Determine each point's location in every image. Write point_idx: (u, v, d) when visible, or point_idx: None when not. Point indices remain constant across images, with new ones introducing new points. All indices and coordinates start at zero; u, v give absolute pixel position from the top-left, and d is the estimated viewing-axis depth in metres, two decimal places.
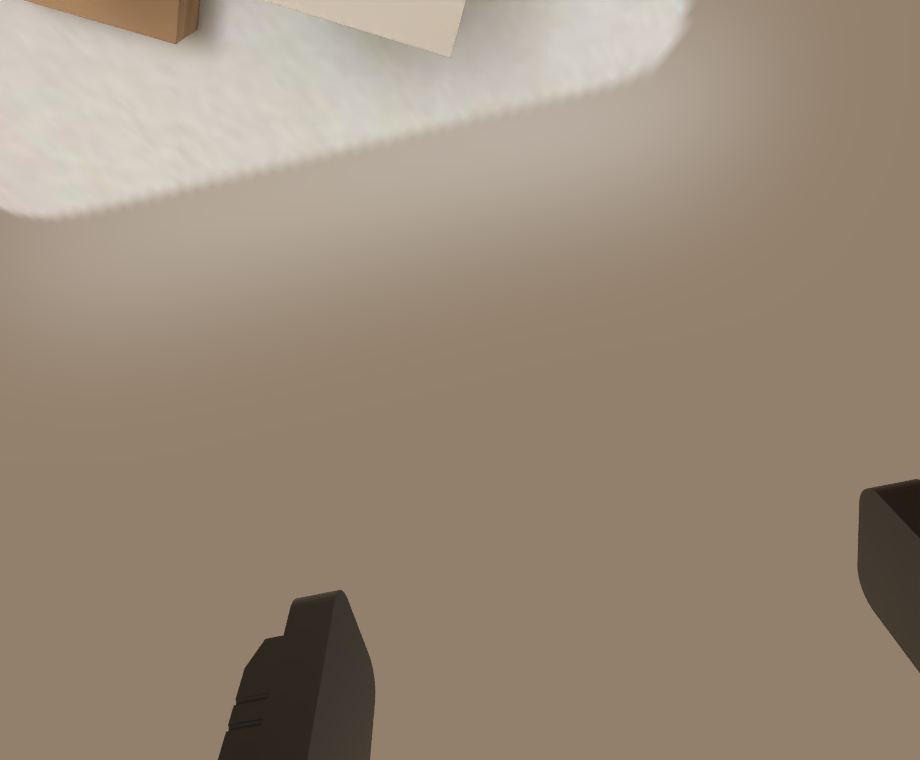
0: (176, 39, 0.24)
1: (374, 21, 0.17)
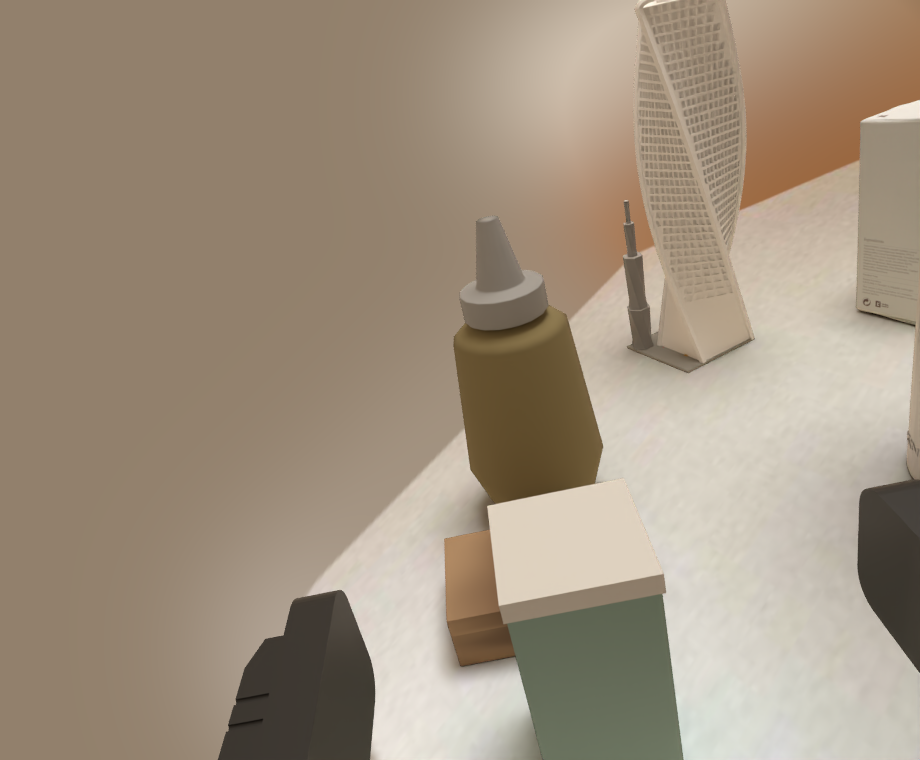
0: (449, 622, 0.34)
1: (501, 563, 0.24)
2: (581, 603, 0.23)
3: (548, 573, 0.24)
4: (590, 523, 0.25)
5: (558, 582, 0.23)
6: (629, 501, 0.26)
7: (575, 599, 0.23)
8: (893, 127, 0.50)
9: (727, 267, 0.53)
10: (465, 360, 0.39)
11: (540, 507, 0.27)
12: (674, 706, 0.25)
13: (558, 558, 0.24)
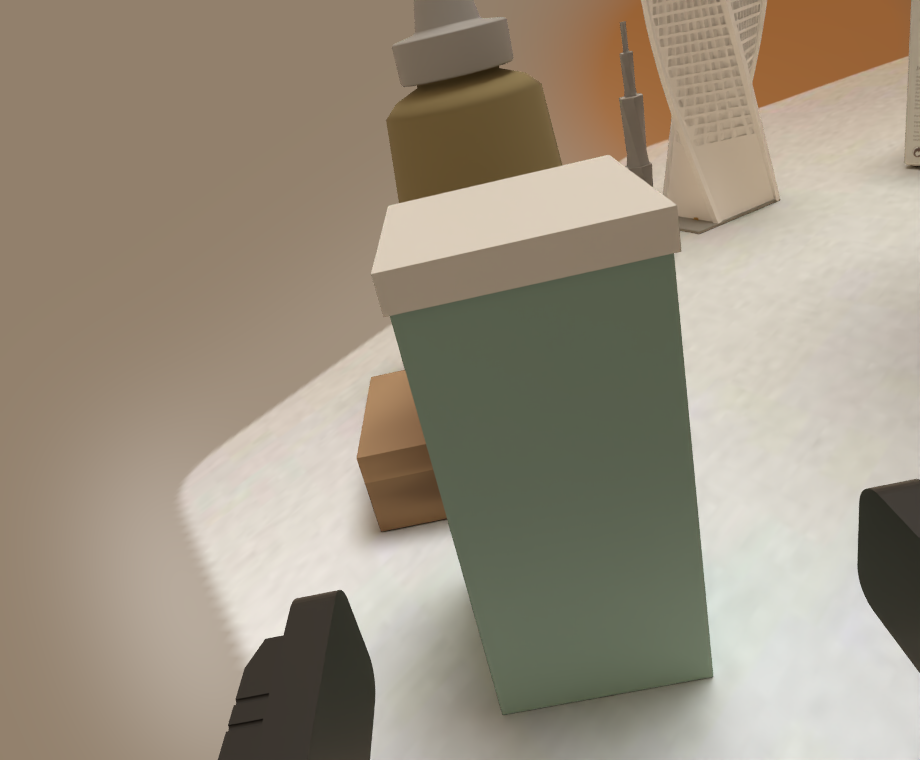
0: (360, 460, 0.23)
1: (392, 241, 0.14)
2: (525, 273, 0.12)
3: (468, 236, 0.13)
4: (549, 191, 0.15)
5: (484, 240, 0.13)
6: (617, 167, 0.15)
7: (513, 263, 0.12)
8: None
9: (748, 96, 0.43)
10: (399, 130, 0.28)
11: (471, 193, 0.16)
12: (693, 505, 0.15)
13: (489, 222, 0.14)
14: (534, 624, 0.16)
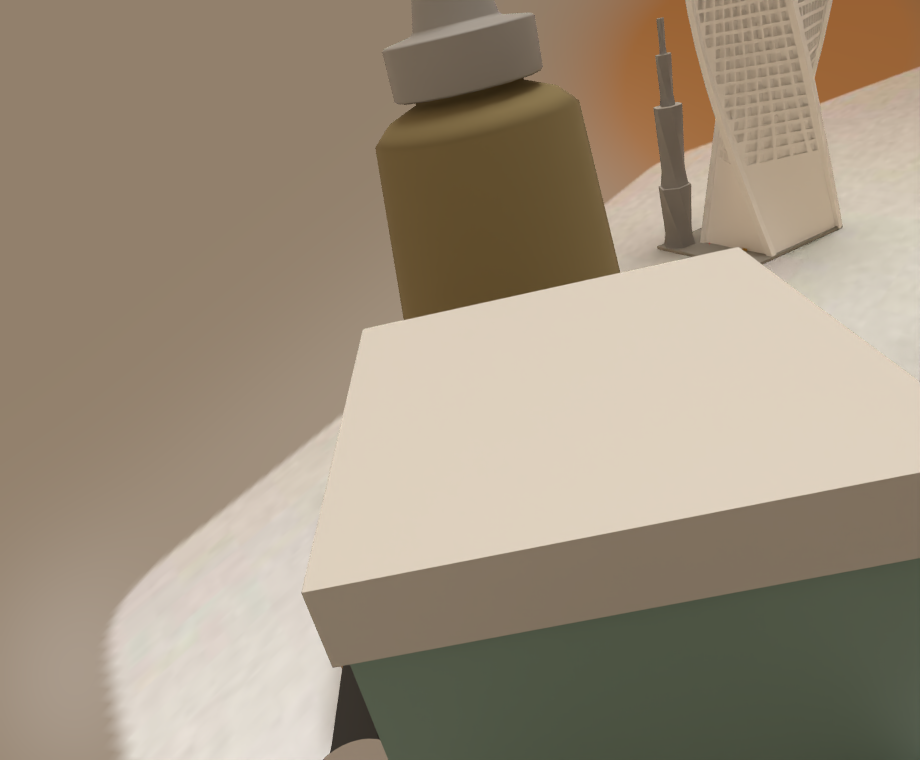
0: None
1: (359, 451, 0.07)
2: (648, 587, 0.06)
3: (515, 473, 0.06)
4: (656, 335, 0.08)
5: (554, 501, 0.06)
6: (772, 283, 0.08)
7: (623, 567, 0.05)
8: None
9: (812, 106, 0.36)
10: (392, 162, 0.21)
11: (504, 319, 0.09)
12: None
13: (553, 427, 0.07)
14: None
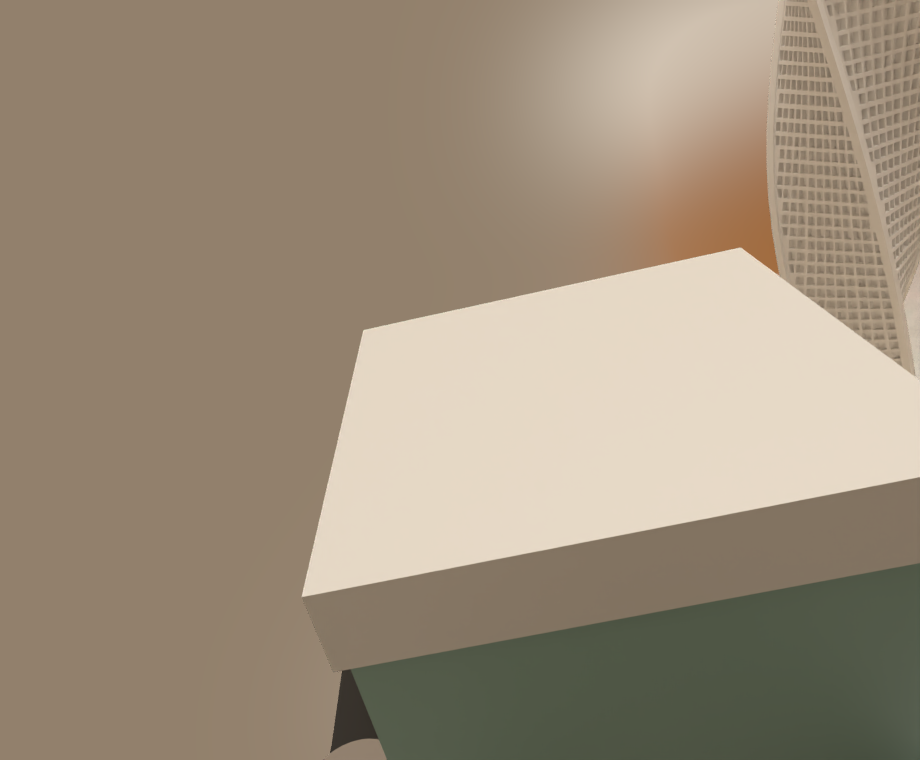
0: None
1: (359, 454, 0.07)
2: (652, 591, 0.05)
3: (517, 475, 0.06)
4: (658, 337, 0.08)
5: (557, 505, 0.06)
6: (775, 284, 0.08)
7: (625, 571, 0.05)
8: None
9: (905, 360, 0.35)
10: None
11: (505, 320, 0.09)
12: None
13: (555, 429, 0.07)
14: None
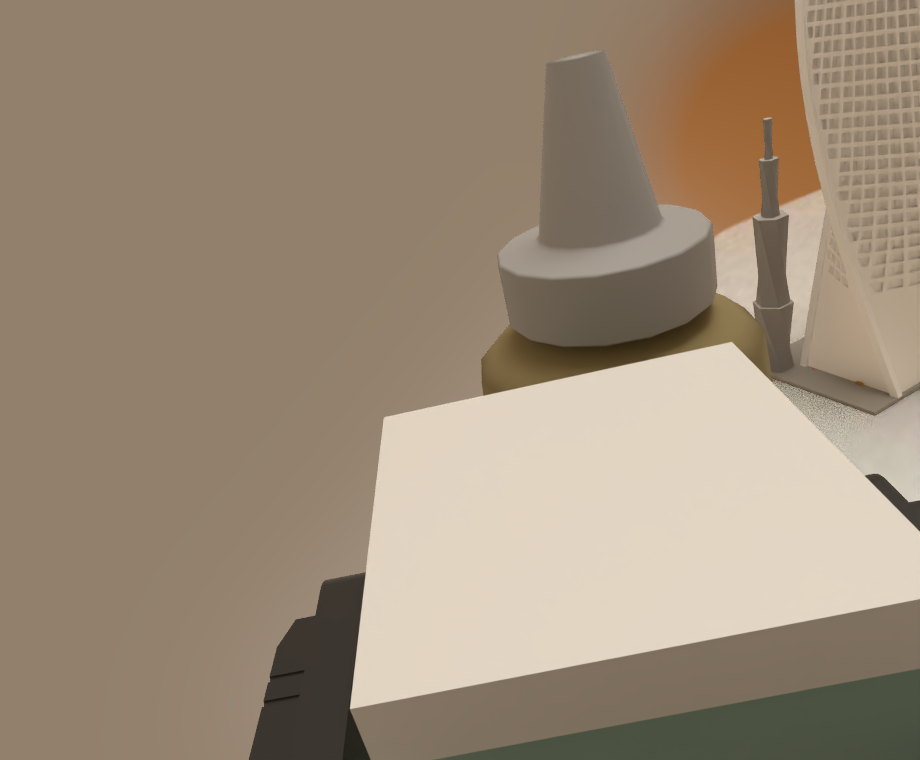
0: None
1: (390, 557, 0.08)
2: (656, 700, 0.06)
3: (535, 588, 0.07)
4: (658, 442, 0.09)
5: (572, 620, 0.06)
6: (763, 387, 0.09)
7: (634, 684, 0.06)
8: None
9: None
10: None
11: (517, 413, 0.10)
12: None
13: (568, 539, 0.07)
14: None
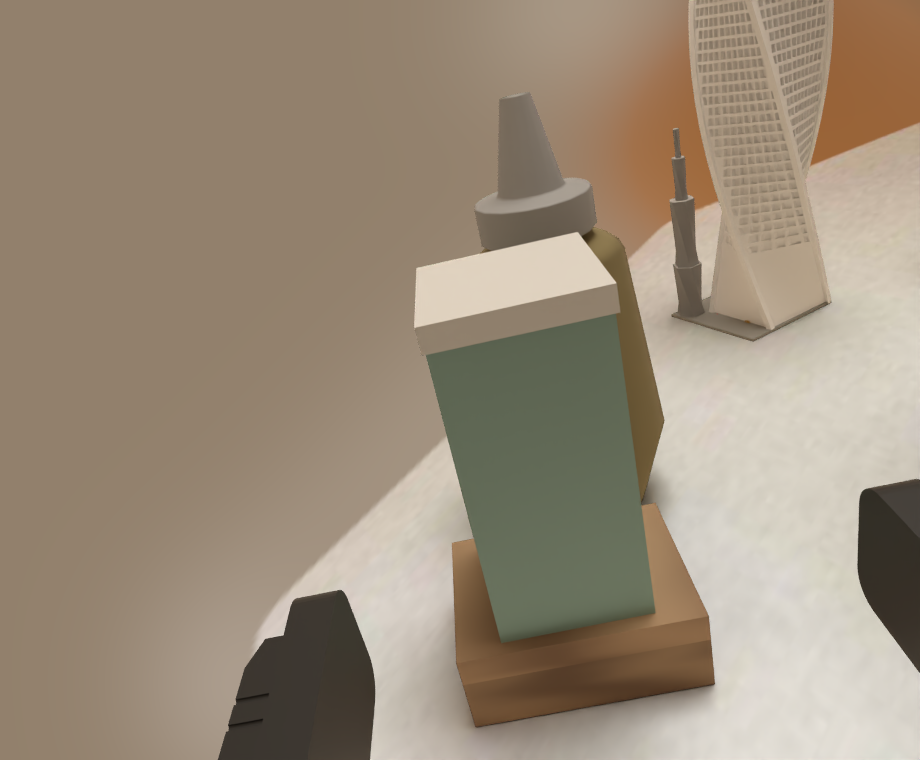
0: (460, 664, 0.23)
1: (424, 301, 0.20)
2: (516, 327, 0.19)
3: (478, 300, 0.19)
4: (533, 263, 0.21)
5: (489, 304, 0.19)
6: (582, 244, 0.22)
7: (509, 320, 0.18)
8: None
9: (804, 207, 0.42)
10: None
11: (477, 261, 0.22)
12: (636, 484, 0.21)
13: (492, 289, 0.20)
14: (524, 573, 0.22)
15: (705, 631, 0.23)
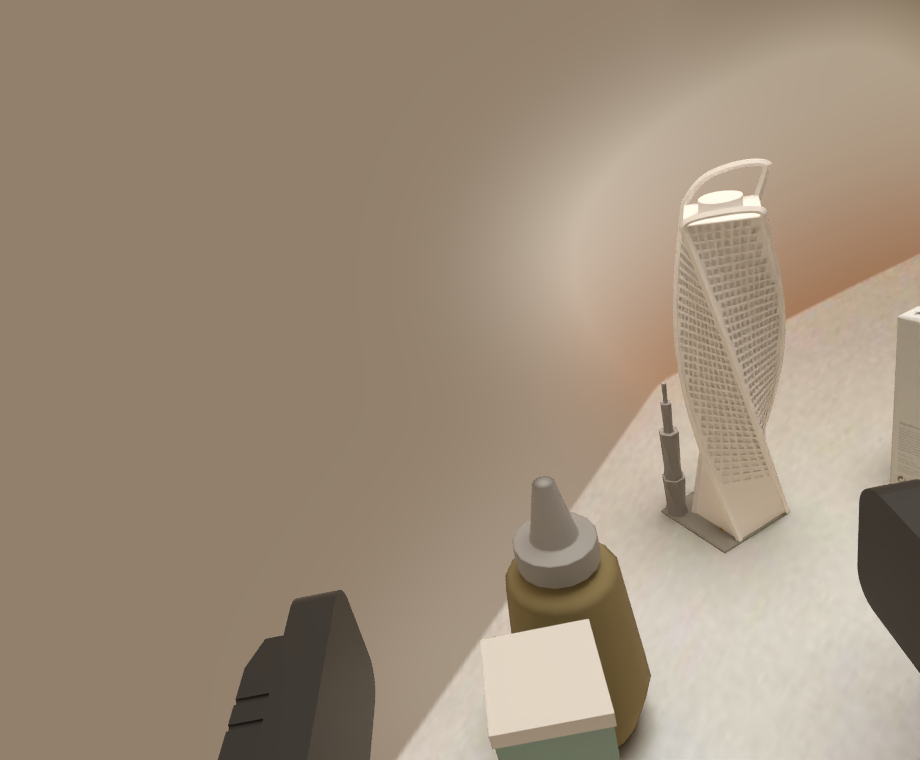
0: None
1: (491, 696, 0.31)
2: (552, 734, 0.30)
3: (527, 708, 0.30)
4: (560, 662, 0.32)
5: (535, 717, 0.30)
6: (592, 642, 0.33)
7: (547, 731, 0.30)
8: None
9: (765, 455, 0.54)
10: (519, 611, 0.39)
11: (522, 644, 0.34)
12: None
13: (535, 694, 0.31)
14: None
15: None
